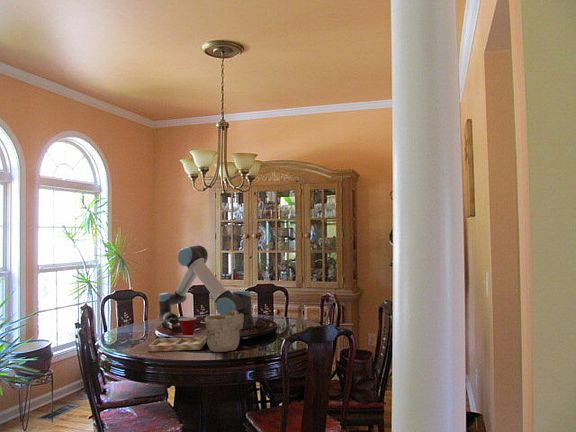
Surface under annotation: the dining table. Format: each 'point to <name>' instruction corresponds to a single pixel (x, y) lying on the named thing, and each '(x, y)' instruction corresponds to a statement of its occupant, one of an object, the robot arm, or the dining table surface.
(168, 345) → the wooden compartment tray
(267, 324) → the dining table surface
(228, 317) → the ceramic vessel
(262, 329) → the dining table surface
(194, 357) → the dining table surface
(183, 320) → the plastic cup
